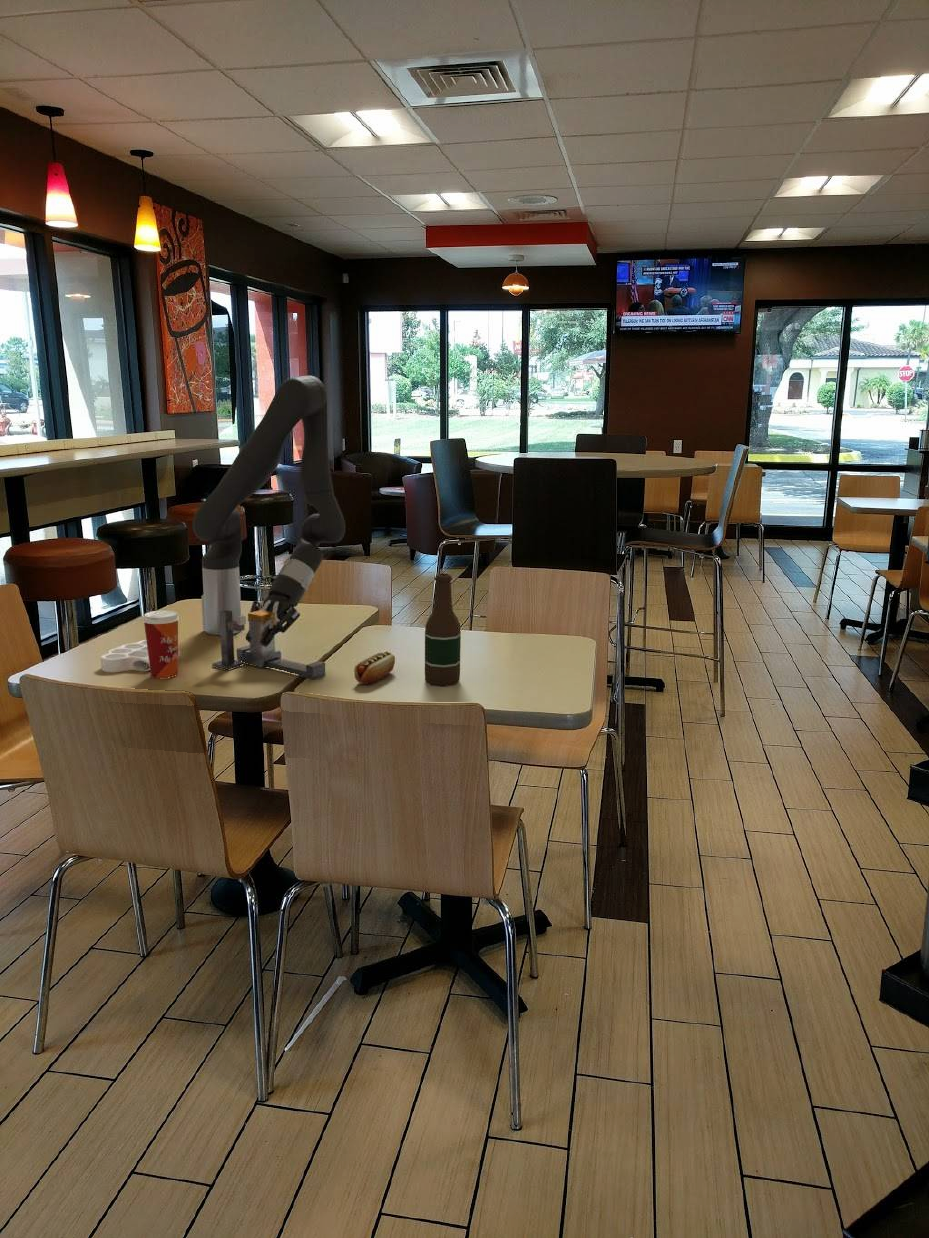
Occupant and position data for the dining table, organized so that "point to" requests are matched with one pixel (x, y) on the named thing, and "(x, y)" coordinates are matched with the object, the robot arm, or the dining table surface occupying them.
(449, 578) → the beer bottle
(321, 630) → the dining table surface
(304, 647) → the dining table surface
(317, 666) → the rail
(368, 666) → the hot dog
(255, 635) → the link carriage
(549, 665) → the dining table surface
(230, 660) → the hook
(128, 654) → the white tray with holes
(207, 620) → the robot arm
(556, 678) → the dining table surface
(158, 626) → the paper cup
